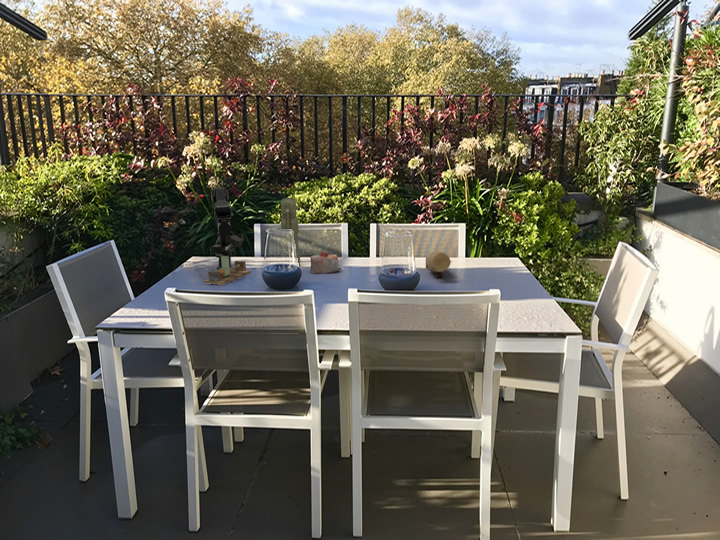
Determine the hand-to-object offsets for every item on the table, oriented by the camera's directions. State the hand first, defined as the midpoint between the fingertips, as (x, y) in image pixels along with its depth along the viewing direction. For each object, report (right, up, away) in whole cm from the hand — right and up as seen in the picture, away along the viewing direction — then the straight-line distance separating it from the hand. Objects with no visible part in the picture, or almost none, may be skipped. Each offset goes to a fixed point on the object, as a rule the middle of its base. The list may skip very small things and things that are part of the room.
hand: (228, 262), depth 287 cm
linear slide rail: (0, -8, +1) cm, 8 cm away
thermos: (+28, -2, +23) cm, 36 cm away
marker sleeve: (-1, -6, -2) cm, 7 cm away
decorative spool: (+99, -6, -2) cm, 100 cm away
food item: (+45, -5, +9) cm, 47 cm away
